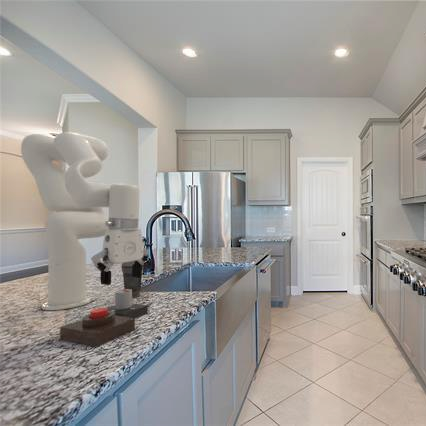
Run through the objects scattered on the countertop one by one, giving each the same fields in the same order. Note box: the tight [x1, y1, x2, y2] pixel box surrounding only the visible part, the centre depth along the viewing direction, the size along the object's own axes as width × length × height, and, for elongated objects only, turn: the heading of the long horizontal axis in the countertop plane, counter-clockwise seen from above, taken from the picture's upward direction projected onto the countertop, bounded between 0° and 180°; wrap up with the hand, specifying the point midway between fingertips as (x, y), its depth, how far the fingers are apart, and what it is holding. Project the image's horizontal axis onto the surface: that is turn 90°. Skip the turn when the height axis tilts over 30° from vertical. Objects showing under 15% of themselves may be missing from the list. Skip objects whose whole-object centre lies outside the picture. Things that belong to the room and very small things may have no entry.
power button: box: [89, 307, 108, 318], centre depth 72 cm, size 4×4×2 cm
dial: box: [114, 288, 133, 310], centre depth 86 cm, size 4×4×5 cm
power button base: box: [59, 311, 136, 348], centre depth 72 cm, size 12×10×5 cm
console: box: [106, 302, 149, 319], centre depth 86 cm, size 10×8×3 cm
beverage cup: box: [120, 261, 145, 299], centre depth 106 cm, size 7×7×20 cm
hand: (122, 280), depth 86 cm, fingers open, 9 cm apart
